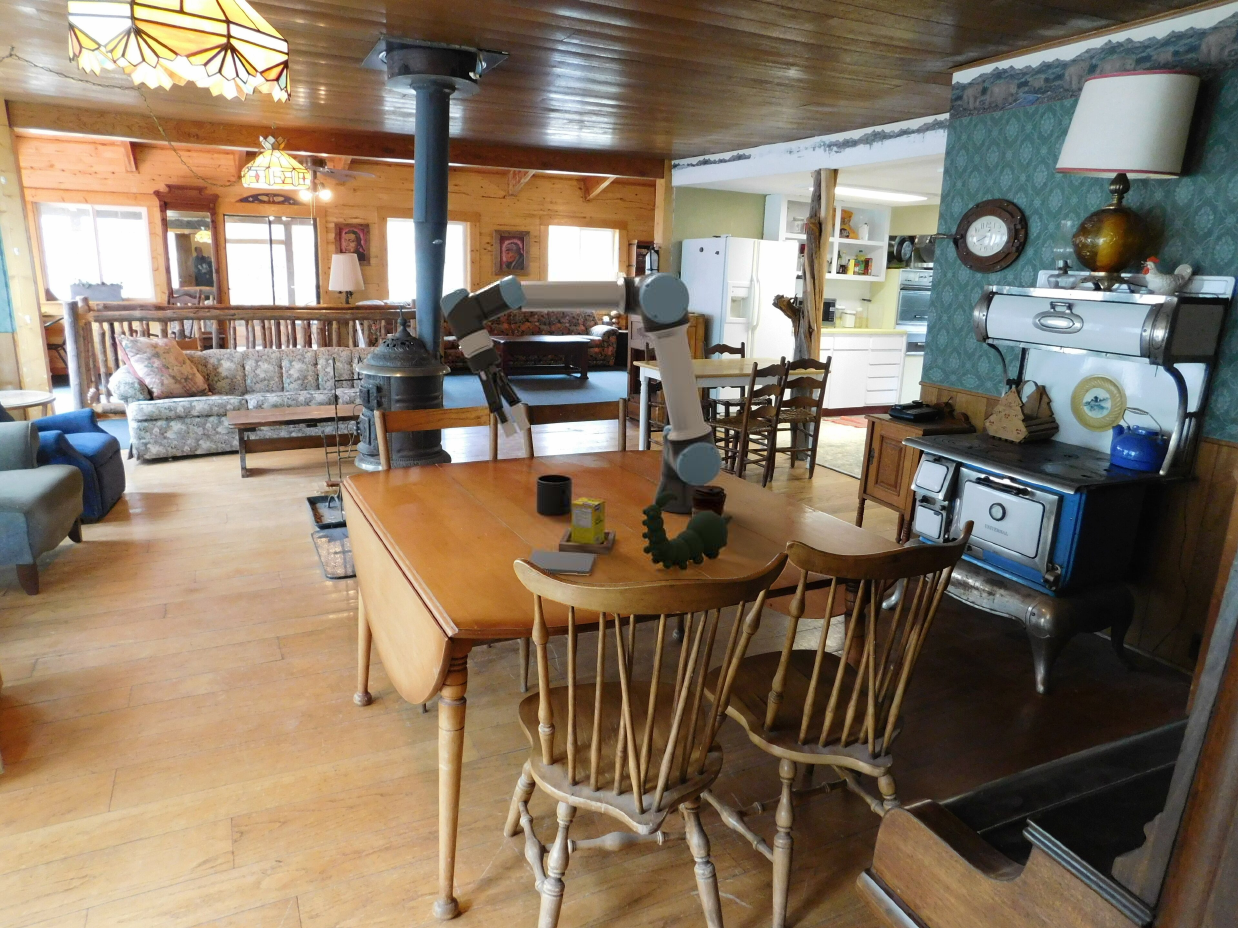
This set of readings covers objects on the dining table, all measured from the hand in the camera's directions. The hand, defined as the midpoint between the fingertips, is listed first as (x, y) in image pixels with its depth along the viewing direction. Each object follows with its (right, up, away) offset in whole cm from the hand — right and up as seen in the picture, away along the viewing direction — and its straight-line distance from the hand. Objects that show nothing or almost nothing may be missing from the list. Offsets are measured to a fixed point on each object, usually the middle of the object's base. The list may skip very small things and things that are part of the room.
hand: (519, 432), depth 192 cm
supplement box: (+17, -27, -4) cm, 32 cm away
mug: (+7, -21, +21) cm, 30 cm away
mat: (+11, -30, -18) cm, 37 cm away
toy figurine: (+40, -30, -14) cm, 52 cm away
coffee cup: (+46, -26, +3) cm, 53 cm away
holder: (+17, -27, -4) cm, 32 cm away
